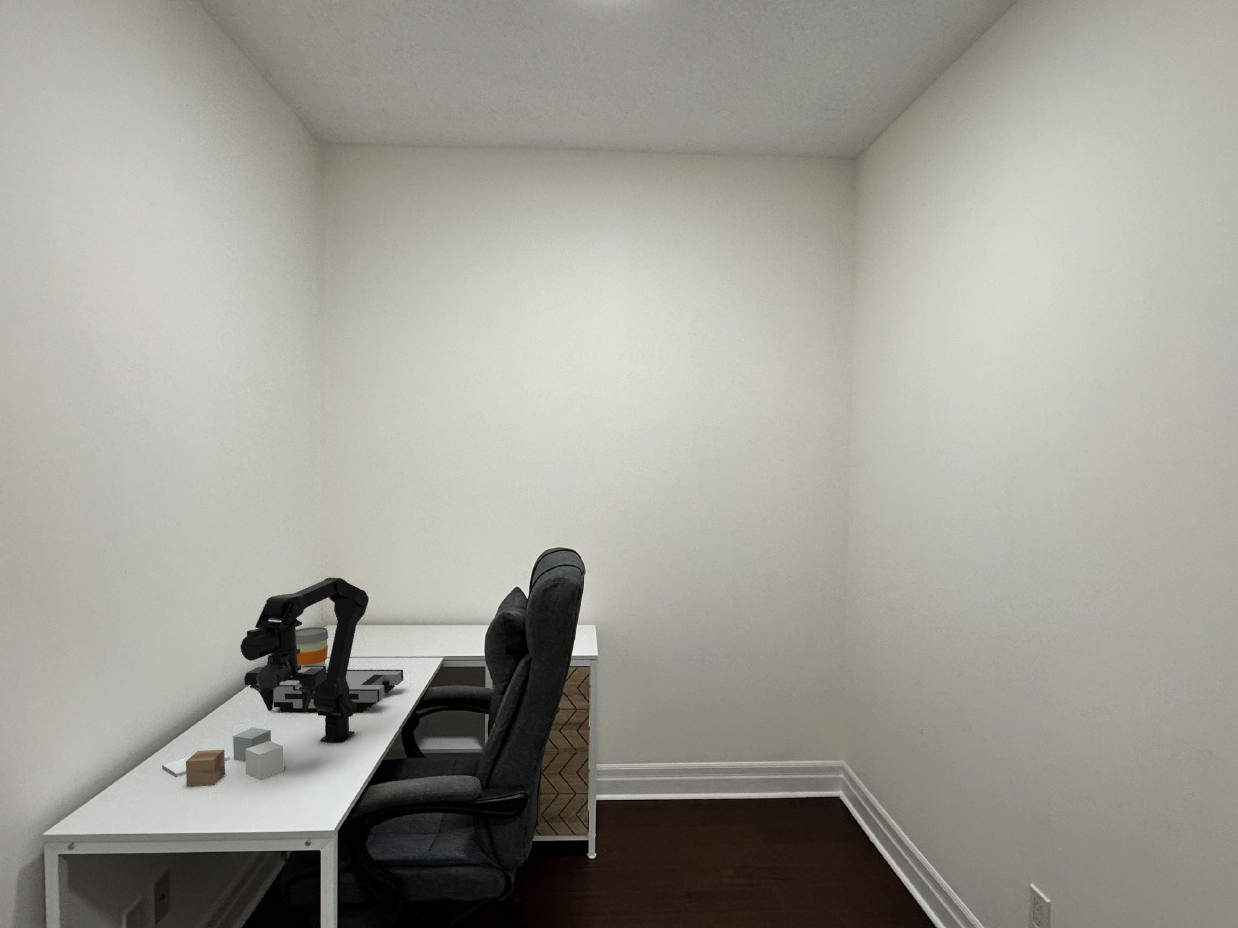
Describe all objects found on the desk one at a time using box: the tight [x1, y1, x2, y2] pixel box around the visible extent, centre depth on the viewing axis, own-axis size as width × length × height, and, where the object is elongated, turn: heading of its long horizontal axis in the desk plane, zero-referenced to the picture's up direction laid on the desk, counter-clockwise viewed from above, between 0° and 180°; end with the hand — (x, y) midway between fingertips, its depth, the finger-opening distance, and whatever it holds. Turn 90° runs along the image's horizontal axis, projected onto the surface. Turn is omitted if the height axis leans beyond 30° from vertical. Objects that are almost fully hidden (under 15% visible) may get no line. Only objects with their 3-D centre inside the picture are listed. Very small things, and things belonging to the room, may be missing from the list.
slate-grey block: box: [232, 727, 272, 763], centre depth 193 cm, size 6×6×6 cm
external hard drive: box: [161, 748, 231, 778], centre depth 189 cm, size 2×8×12 cm
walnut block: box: [185, 749, 226, 788], centre depth 179 cm, size 6×6×6 cm
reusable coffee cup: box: [296, 626, 329, 668], centre depth 261 cm, size 13×12×15 cm
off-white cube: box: [245, 740, 285, 780], centre depth 183 cm, size 6×6×6 cm
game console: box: [273, 665, 404, 714], centre depth 233 cm, size 21×32×8 cm, turn 86°
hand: (287, 711), depth 188 cm, fingers open, 9 cm apart
